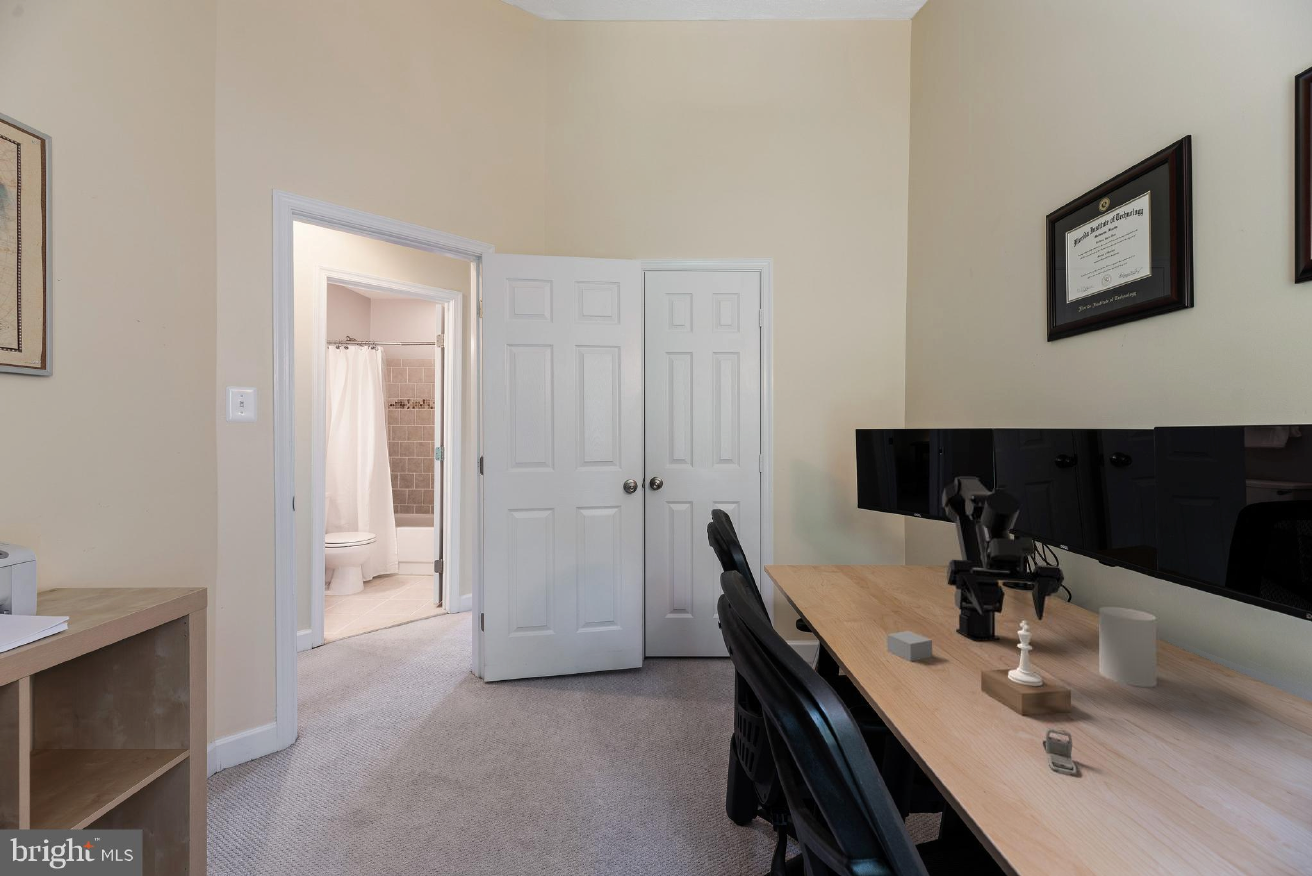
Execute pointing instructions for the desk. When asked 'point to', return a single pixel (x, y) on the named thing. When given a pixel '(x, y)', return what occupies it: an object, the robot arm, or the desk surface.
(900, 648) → the slate block
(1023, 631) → the chess piece
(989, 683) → the walnut block
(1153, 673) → the white cylinder
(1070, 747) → the grey sandwich maker
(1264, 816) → the desk surface
